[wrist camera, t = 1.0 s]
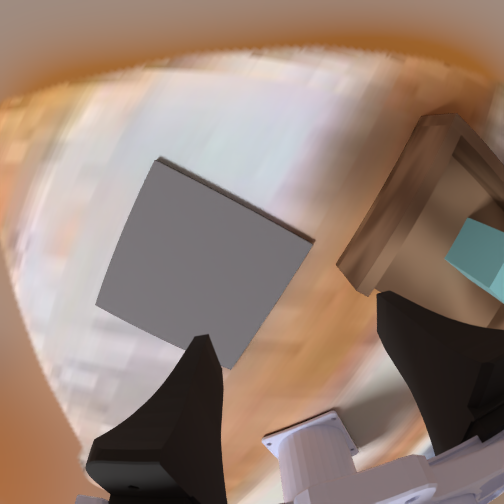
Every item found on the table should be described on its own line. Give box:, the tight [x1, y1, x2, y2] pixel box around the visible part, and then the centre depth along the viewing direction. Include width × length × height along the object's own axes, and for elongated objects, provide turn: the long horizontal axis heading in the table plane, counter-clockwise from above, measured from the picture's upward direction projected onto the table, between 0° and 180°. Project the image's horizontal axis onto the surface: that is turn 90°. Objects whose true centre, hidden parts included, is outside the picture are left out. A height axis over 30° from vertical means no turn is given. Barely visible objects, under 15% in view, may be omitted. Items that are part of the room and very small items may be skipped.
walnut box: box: [336, 113, 504, 330], centre depth 21 cm, size 13×20×4 cm, turn 61°
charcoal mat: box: [95, 160, 313, 370], centre depth 22 cm, size 12×12×1 cm
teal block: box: [444, 218, 504, 304], centre depth 19 cm, size 4×4×6 cm
